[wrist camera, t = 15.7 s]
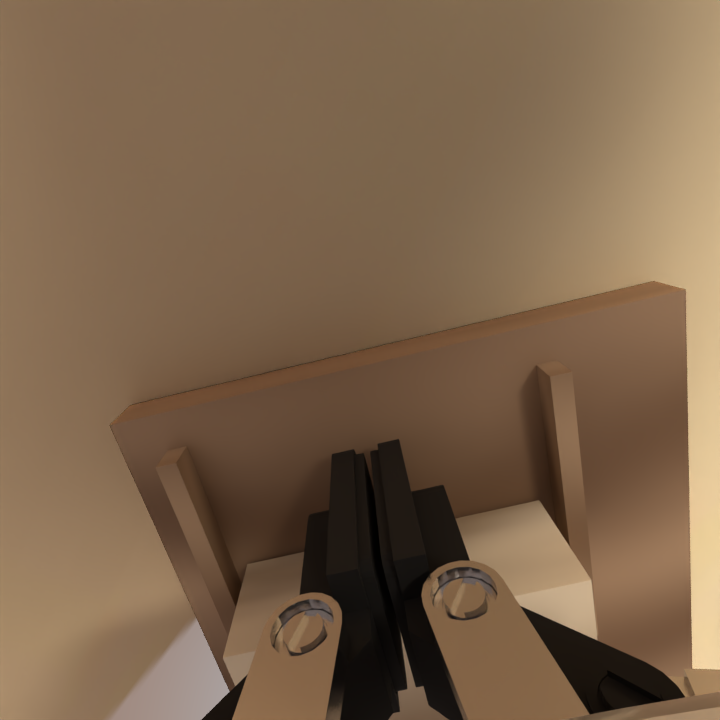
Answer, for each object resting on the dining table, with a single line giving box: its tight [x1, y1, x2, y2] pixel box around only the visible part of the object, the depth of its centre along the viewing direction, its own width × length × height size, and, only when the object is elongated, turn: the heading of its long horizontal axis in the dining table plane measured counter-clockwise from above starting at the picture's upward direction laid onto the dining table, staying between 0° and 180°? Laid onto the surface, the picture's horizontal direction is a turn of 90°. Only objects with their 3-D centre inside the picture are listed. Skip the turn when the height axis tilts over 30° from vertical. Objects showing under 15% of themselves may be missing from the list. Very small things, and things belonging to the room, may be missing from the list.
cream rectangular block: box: [223, 500, 597, 720], centre depth 12 cm, size 6×8×3 cm
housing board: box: [110, 281, 692, 691], centre depth 14 cm, size 20×14×3 cm
